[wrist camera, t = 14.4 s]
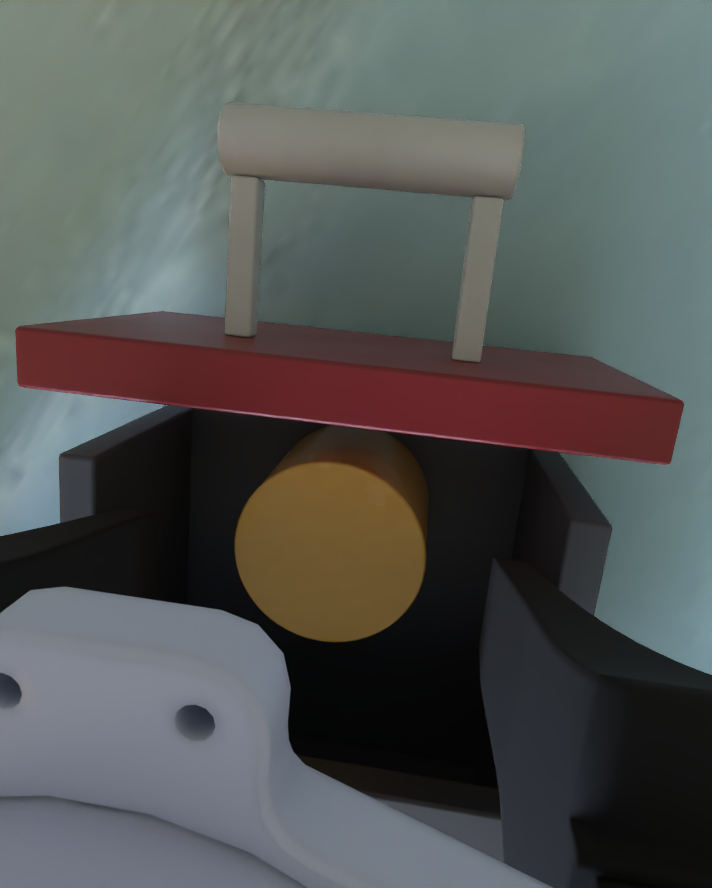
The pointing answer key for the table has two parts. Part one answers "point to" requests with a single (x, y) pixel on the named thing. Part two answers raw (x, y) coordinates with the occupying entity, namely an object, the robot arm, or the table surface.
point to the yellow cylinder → (336, 535)
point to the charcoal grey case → (428, 801)
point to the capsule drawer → (360, 406)
